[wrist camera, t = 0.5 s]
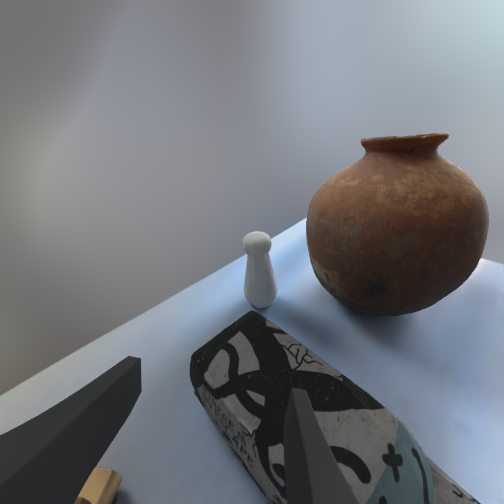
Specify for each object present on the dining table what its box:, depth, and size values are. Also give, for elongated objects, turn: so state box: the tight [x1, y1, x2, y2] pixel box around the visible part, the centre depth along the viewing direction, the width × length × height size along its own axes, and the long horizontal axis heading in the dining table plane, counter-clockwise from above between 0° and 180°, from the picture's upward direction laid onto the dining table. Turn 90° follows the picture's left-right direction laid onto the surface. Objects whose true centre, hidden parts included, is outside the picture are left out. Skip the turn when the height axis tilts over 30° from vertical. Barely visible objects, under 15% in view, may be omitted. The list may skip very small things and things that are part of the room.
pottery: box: [306, 133, 489, 316], centre depth 36 cm, size 23×23×25 cm
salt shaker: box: [242, 232, 278, 309], centre depth 39 cm, size 6×6×13 cm
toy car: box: [190, 310, 480, 504], centre depth 21 cm, size 11×25×10 cm, turn 43°
